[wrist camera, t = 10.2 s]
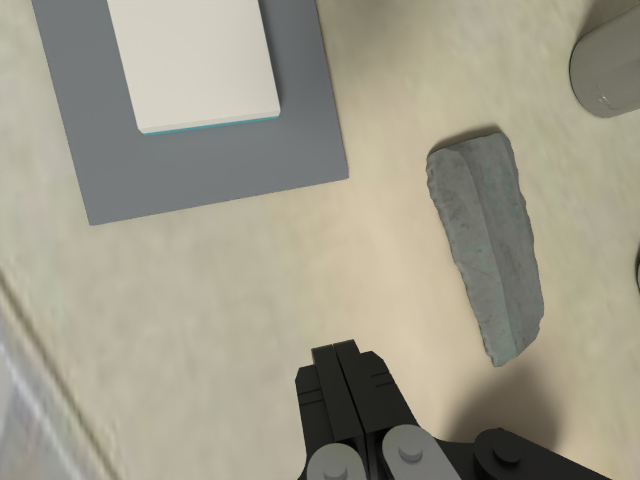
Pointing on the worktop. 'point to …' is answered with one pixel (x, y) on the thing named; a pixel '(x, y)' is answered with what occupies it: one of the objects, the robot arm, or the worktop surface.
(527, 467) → the robot arm
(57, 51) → the rubber mat
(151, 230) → the worktop surface
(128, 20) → the glazed tile
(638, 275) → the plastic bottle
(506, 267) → the stone slab
